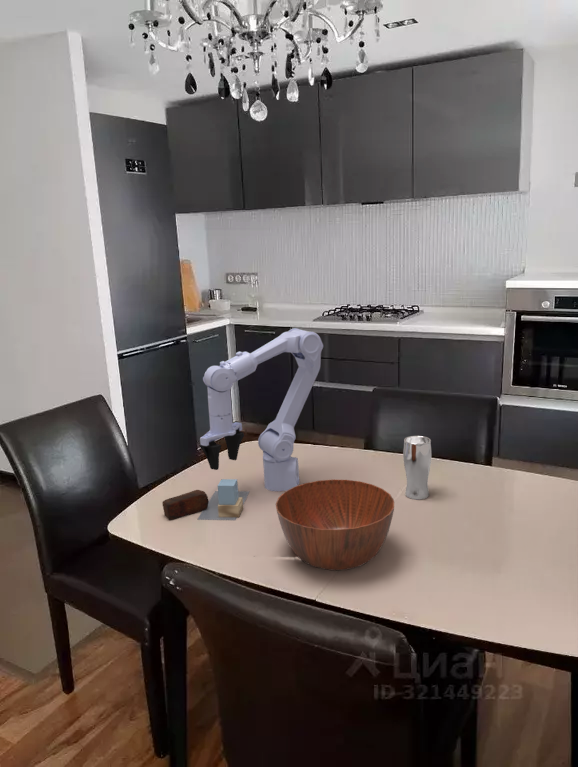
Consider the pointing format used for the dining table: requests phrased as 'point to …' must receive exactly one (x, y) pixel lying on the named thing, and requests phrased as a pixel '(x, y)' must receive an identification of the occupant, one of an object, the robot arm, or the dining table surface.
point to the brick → (185, 504)
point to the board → (212, 508)
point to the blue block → (228, 491)
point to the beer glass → (417, 466)
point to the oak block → (231, 509)
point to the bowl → (335, 522)
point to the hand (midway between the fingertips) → (223, 464)
